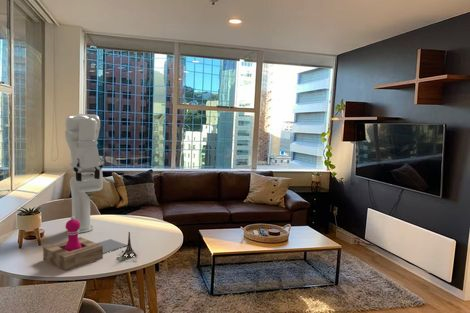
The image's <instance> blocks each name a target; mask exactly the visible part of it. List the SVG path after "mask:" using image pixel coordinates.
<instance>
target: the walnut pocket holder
mask: <svg viewBox="0 0 470 313" xmlns="http://www.w3.org/2000/svg"><path fill="white" fill-rule="evenodd" d="M78 240H79V242H80V244H81V246H82V248H80V249H76V250H73V251H70V252H69V251H67V250H65V247H66V244H67V242H68V240H65V241H61V242H58V243H55V244H50V245H47V246H43V247H42V251H43V253H42V254H43V255H42V257H43V261H44V262H46V263H48V264H50V265H52V266H55V267H56V268H58V269H60V270H61V271H65V272H66V271H69V270H71V269H74V268H77V267H81V266H83V265H86V264H89V263H92V262H96V261H99V260H101V259H103V258H104V254H103V245H100V244H97V243H98V242H94V241H91V240H89V239H86V238H84V237H81V236H78Z"/></svg>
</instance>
